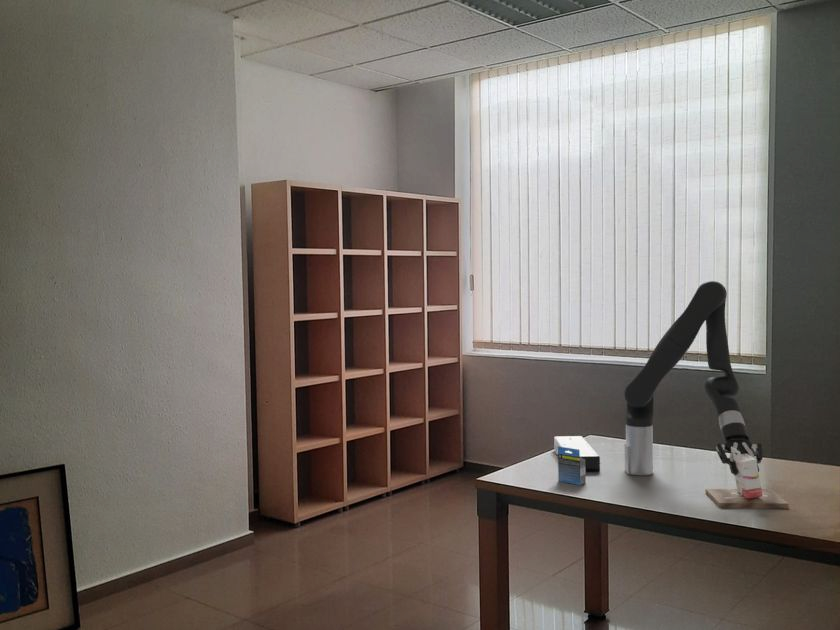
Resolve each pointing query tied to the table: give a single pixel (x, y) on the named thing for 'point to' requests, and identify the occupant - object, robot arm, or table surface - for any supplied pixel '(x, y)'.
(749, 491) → the ink cartridge box
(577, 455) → the label tape cartridge
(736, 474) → the robot arm
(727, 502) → the walnut board
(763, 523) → the table surface
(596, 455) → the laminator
